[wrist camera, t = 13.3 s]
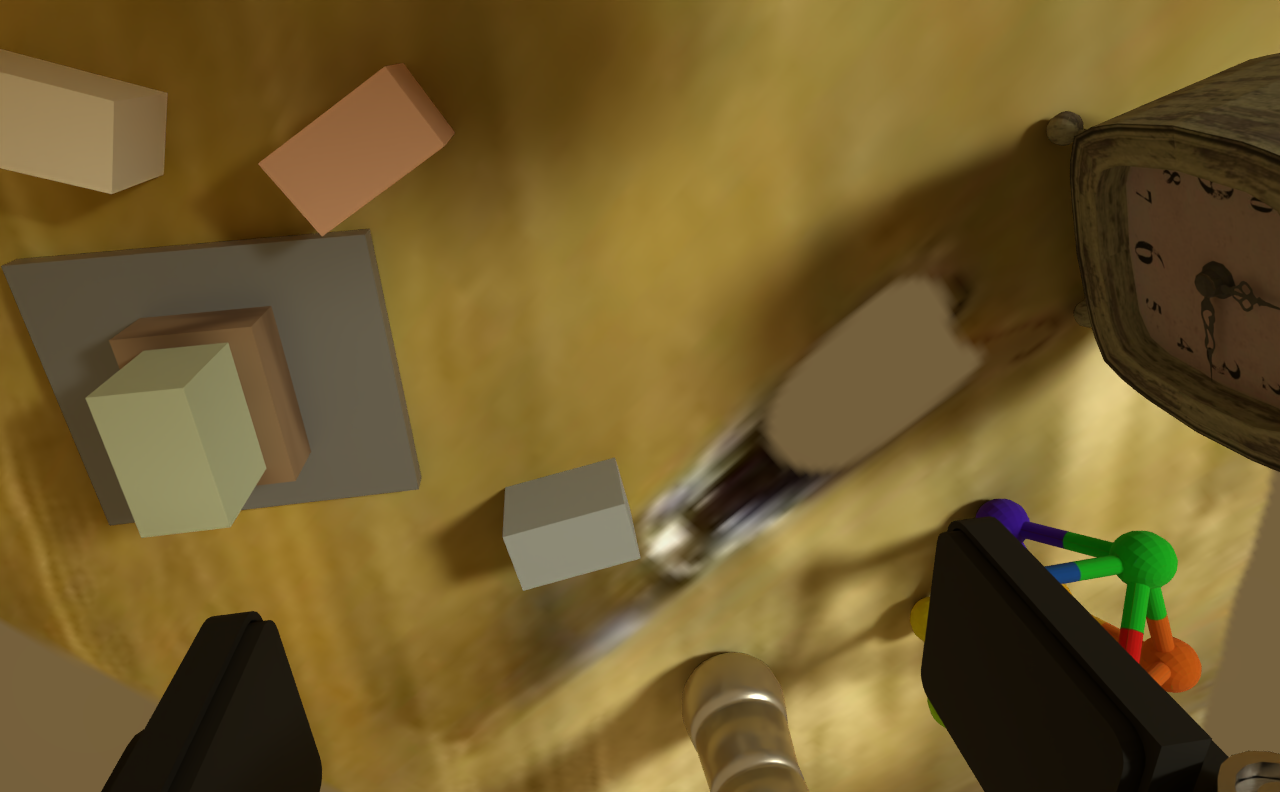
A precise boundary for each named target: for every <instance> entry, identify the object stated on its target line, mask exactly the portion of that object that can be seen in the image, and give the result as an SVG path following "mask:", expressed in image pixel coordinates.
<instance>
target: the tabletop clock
mask: <svg viewBox="0 0 1280 792" xmlns="http://www.w3.org/2000/svg"><path fill="white" fill-rule="evenodd" d="M1047 136H1048V138H1049V140H1050V141H1051V142H1053V143H1055V144H1058V145H1063V146H1064V145H1068V144H1070V143H1072V142H1073V147H1072V153H1071V160H1070V184H1071V197H1072V208H1073V219H1074V230H1075V241H1076V251H1077V257H1078V262H1079V267H1080V272H1081V278H1082V283H1083V288H1084V294H1085V299H1086V300H1083V301H1082V302H1081V303H1079V304H1078V305H1077V306H1076V308H1075V310H1074V318H1075V320H1076V322H1077V323H1078V324H1079V325H1081V326H1084V327H1092V330H1093V333H1094V337H1095V339H1096V342H1097V344H1098V347H1099V349H1100V352H1101V354H1102V357H1103V359H1104V361H1105V362H1106V363H1107V364H1108V365H1109V366H1110V367H1111V368H1112V369H1113V370H1114V371H1115V373H1116V374H1117V375H1118V376H1119V377H1120V378H1121V379H1122V380H1123V381H1125V382H1126V383H1127V384H1128V385H1130V386H1131V387H1132V388H1133V389H1135V390H1136V391H1137V392H1138V393H1140V394H1141V395H1142V396H1144V397H1145V398H1146V399H1147V400H1149V401H1150V402H1152V403H1154V404H1155V405H1157V406H1158V407H1160V408H1161V409H1163V410H1164V411H1166V412H1167V413H1169V414H1170V415H1172V416H1173V417H1175V418H1176V419H1178V420H1179V421H1181V422H1182V423H1184V424H1185V425H1187V426H1188V427H1190V428H1191V429H1193V430H1194V431H1196V432H1198V433H1199V434H1201V435H1203V436H1205V437H1207V438H1209V439H1211V440H1213V441H1215V442H1217V443H1219V444H1221V445H1223V446H1225V447H1227V448H1229V449H1231V450H1233V451H1235V452H1236V453H1238V454H1240V455H1242V456H1244V457H1246V458H1248V459H1250V460H1252V461H1254V462H1257V463H1259V464H1261V465H1264V466H1266V467H1269V468H1271V469H1274V470H1276V471H1279V472H1280V53H1277V54H1272V55H1267V56H1263V57H1259V58H1254V59H1250V60H1248V61H1245V62H1243V63H1241V64H1238V65H1236V66H1234V67H1231V68H1229V69H1227V70H1224V71H1222V72H1220V73H1217V74H1215V75H1213V76H1210V77H1208V78H1206V79H1203V80H1201V81H1199V82H1196V83H1194V84H1192V85H1189V86H1187V87H1185V88H1182V89H1180V90H1178V91H1175V92H1173V93H1171V94H1168V95H1166V96H1164V97H1161V98H1159V99H1157V100H1154V101H1152V102H1150V103H1147V104H1145V105H1143V106H1140V107H1138V108H1136V109H1133V110H1131V111H1129V112H1126V113H1124V114H1122V115H1119V116H1117V117H1115V118H1112V119H1110V120H1108V121H1105V122H1103V123H1101V124H1098V125H1096V126H1094V127H1091V128H1089V129H1088V130H1085V129H1083V121H1082V119H1081V117H1080V116H1079V115H1077V114H1075V113H1073V112H1069V111H1065V112H1061V113H1059V114H1058V115H1056V116H1055V117H1053V118H1052V119H1051V120H1050V122H1049V124H1048V126H1047Z"/></svg>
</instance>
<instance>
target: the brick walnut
mask: <svg viewBox="0 0 1280 792" xmlns="http://www.w3.org/2000/svg"><path fill="white" fill-rule="evenodd" d="M109 342H110V345H111V347H112V350H113V353H114V355H115V358H116V361H117V363H118V366H119V369H122V368H123V367H124V366H125V365H127V364H128V363H129V362H130V361H131V360H133V359H134V358H135V357H136V356H138V355H139V354H140V353H141V352H143V351H146V350H156V349H167V348H177V347H187V346H197V345H208V344H218V343H228V344H229V347H230V350H231V354H232V357H233V360H234V363H235V367H236V370H237V373H238V377H239V380H240V383H241V386H242V390H243V393H244V396H245V400H246V403H247V406H248V409H249V413H250V416H251V419H252V423H253V426H254V429H255V432H256V436H257V439H258V442H259V446H260V449H261V452H262V455H263V459H264V462H265V465H266V470H265V472H264V473H263V475H262V476H261V478H260V480H259V481H258V483H257V485H266V484H275V483H284V482H292V481H296V480H297V478H298V476H299V474H300V472H301V470H302V468H303V466H304V464H305V462H306V461H307V459H308V457H309V455H310V453H311V449H310V445H309V442H308V438H307V434H306V431H305V427H304V423H303V420H302V416H301V412H300V409H299V405H298V401H297V398H296V394H295V391H294V387H293V383H292V380H291V376H290V372H289V369H288V365H287V361H286V358H285V354H284V350H283V347H282V343H281V339H280V336H279V332H278V328H277V325H276V321H275V317H274V314H273V310H272V306H264V307H253V308H243V309H232V310H221V311H211V312H200V313H189V314H179V315H168V316H157V317H147V318H139V319H138V320H137V321H135V322H134V323H132V324H131V325H130V326H128V327H127V328H125V329H124V330H123V331H121V332H120V333H119V334H117V335H116V336H114V337H113V338H112V339H110V340H109ZM257 485H256V486H257Z"/></svg>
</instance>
